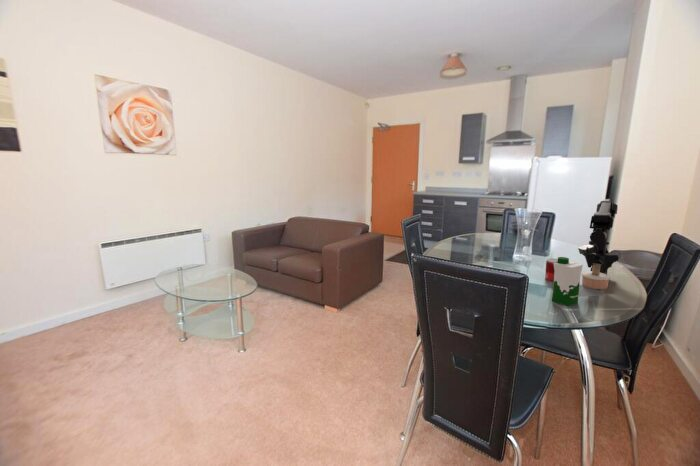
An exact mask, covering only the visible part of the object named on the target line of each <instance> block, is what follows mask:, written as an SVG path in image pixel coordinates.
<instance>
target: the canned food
mask: <svg viewBox="0 0 700 466" xmlns="http://www.w3.org/2000/svg"><path fill="white" fill-rule="evenodd" d="M555 262H558V258H547V259H546V261H545V272H544V273H545V274H544V279H545V280H546V281H549V282H553V283H554V273H555V271H554V264H553V263H555Z"/></svg>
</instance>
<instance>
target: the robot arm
mask: <svg viewBox="0 0 700 466" xmlns="http://www.w3.org/2000/svg"><path fill="white" fill-rule="evenodd" d="M617 214H618V204H616V203H614V201H613V200H602V201H600V202H599V203H597V206H596V211H595V212H594V213H593V215H592V216H591V219H590V224H589V229H592V232H591V233H590V235H589V239H590V240H589V241H588V244H584V245H581V246H578V247H577V249H578V253H579V255H582V256H583V257H584V258H585V260H586V264H587V267H588V268H589V269H590V271H592V267H593V264H598V265H600V273H604V274H607V275H608V271H609V270H608V269H610V268H612V267H613V264H614V263H616V262H619V260H620V256H619V255H618V254H616V253H613V252H609V250H608V245H610V242H609V234H610V230H611V229H612V228H613V226H614V219H615V218H616V215H617Z"/></svg>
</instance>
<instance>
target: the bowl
mask: <svg viewBox="0 0 700 466" xmlns="http://www.w3.org/2000/svg"><path fill="white" fill-rule="evenodd" d="M581 276H582V275H581ZM609 280H610V279H609ZM609 280H593V279H589V278H585V277H583V276H582V279H581V285H584V286H586V287H589V288H594V289H596V290H606V289H608V288H609V287H608V286H609V282H610V281H609Z"/></svg>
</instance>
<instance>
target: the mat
mask: <svg viewBox="0 0 700 466" xmlns="http://www.w3.org/2000/svg"><path fill="white" fill-rule="evenodd" d="M598 296H599V297H601V296H602V297H603V296H604V297H605V296H606V297H607V296H609V295H608V294H606V293H604V292H602V291H601V290H599V289H594V288H589V287H586V286H584V285H582V284H580V285H579V295H578V297H598Z"/></svg>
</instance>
